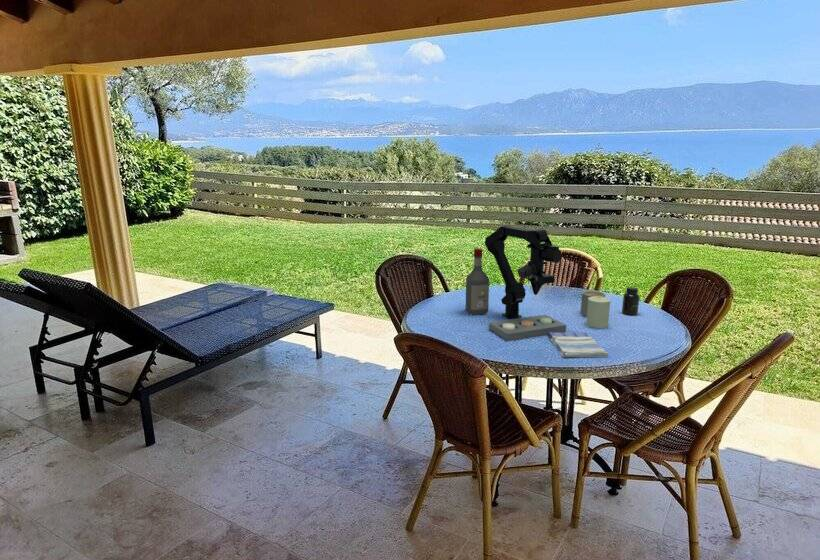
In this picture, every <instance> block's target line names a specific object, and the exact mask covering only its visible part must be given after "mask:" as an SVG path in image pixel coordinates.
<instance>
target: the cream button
mask: <svg viewBox="0 0 820 560" xmlns="http://www.w3.org/2000/svg"><path fill="white" fill-rule="evenodd" d="M502 328H504V329H505V330H509V329H515V325H514V324H512V323H504V324H503V326H502Z"/></svg>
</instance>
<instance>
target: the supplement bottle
mask: <svg viewBox="0 0 820 560" xmlns="http://www.w3.org/2000/svg"><path fill="white" fill-rule="evenodd" d="M638 292H639V287H635V286H627V287H626V289H625V293H624V294H623V295H622V296H623V297H622V306H621V313H622V314H623V313H624V314H623V315H626V314H627V315H626V316H637V315H638V313H639V305H640V295H639V294H638Z"/></svg>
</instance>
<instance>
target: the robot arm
mask: <svg viewBox="0 0 820 560" xmlns="http://www.w3.org/2000/svg"><path fill="white" fill-rule="evenodd" d="M508 237H512V238H516V239H521V240H522V239H523V240H525V241H526V242H527V243H529V244H527V246H526V248H528V249H530V255H529V256H530V257H529V259H530V260H528V261H527V264H526V265H524V266H521V267H520V268H518V269H517V270H516V271H517V274H518V277H519V278H521V279H526V280H528V281H529V283H530V285H531V289H532V292H533V295H535V296H537V295H538V293H539V292H540V290H541V289H542V287H543V285H545V284H553V283H555V282H556V278H555V277H554V275H552V274H548V273H547V274H546V271H545V270H544V267H545V265H547V262H549V263H555V264H558V263H560V262H561V260H562V255H563V254H562V251H561V249H560V246H559V245H553V243H552V241H551V239H550V237H549V235H548V232H547V231H546V229H544V228H541V229H540V228H539V229H526V228H519V227H514V226H510V225H501V226H499V227H498V228H497V229H496V230H495V231H494V232H492V233H491V234H489V235H488V236H486V237H485V240H484V245H485V248H486V249H487V251H488V252H489V253H490V254H491V255H493V257H494V259H495V262H496V264H497V267H498V269H499V271H500V272H499V273H500V274H501V276H502V279H503V281H504V284H505V286H504V287H505V288H504V293H505V295H504V296H503V297H502V298H501V299H500V300H501V304H502V305H504V306H505V307H504V308H505V309H504V311H505V312H504V313H501V314H502V316H503V317H505V318H507V319H508V320H511V319H518V318H522V315H520V314H519V313H520V312H519V311H520V307H519V306H520V304H521V303H523V301H524V299H525V297H526V288H525V286H524V284H523V282H519V281H518V280H517V279H516V277H515V275H514V272H513V270H512V267H511V265H510V263H509V259H508V258H507V255H506V253H505V247H506V244H505V241H506V240H507V239H508Z"/></svg>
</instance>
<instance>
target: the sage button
mask: <svg viewBox="0 0 820 560" xmlns="http://www.w3.org/2000/svg"><path fill="white" fill-rule="evenodd" d="M540 323H542V324H549V323H552V319H550V318H540Z"/></svg>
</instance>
